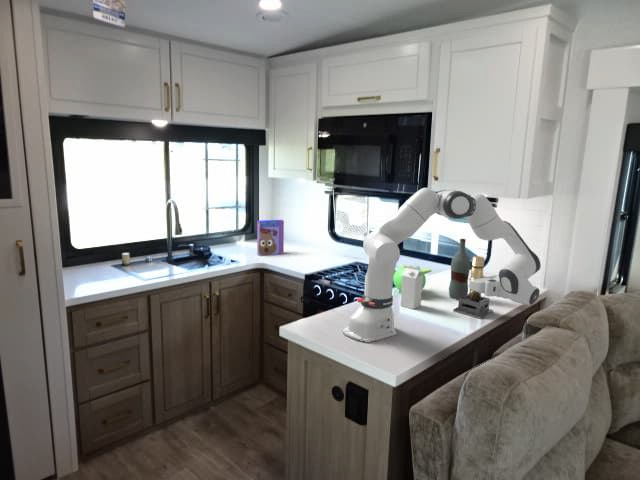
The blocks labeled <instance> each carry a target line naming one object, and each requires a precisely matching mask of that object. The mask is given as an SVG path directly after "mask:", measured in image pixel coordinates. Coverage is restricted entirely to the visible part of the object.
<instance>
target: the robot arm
mask: <svg viewBox="0 0 640 480" xmlns="http://www.w3.org/2000/svg"><path fill="white" fill-rule="evenodd" d="M434 214H437V215H439V216H442V217H444V218H448V219H454V220H460V219H463V218H465V219H466V220H467V222H468V224H469V226H470V228H471V230H472V231H473V234H475V236H476V237H477V238H479V239H481V240H483V241H494V240H498V239H503V240H504V241H505V242H506V243H507V244H508V246H509V247H510V248H511V250H512V252H513V253H514V257H513V259H511V260H510V261H509V262H508V263H507V264H506V265H504V266H503V267H502V268H501V269H500V270H499V272H498V274H495V275H491V276H490V275H489V276H486V275H485V276H484V275H483V278H479V279H475V278H471V277H468V289H469V290H470V289H472V290H474V291H476V292H479V293H481V294H484V297H496V298H502V299H506V300H507V299H508V300H510V301H512V302H514V303H516V304H521V305H524V306H525V305H526V306H529V305H530V306H532V305H533V304H534V303H536V301H537V300H538V298H539V296H540V291H541V290H540V289H539V288H538V287H536V286H535V285H533V284H532V283H531V282H530V281H529V279H530V278H531V277H532V276H534V274H536V273H538V272H539V271H540V270H541V265H542V264H541V261H540V260H541V259H540V258H539V257H538V255H537V254H536V253H535V252H533V250H531V248H530V247H529V246H528V244H527V242H525V240H524V239H523V238H522V236H521V235H520V234H519V232H518V230H516V229H515V227H514V226H513V225H512V224H511V223H510V222H508V221H506V220H503V219H502V218H501V217H500V216H499V214H498V213H497V211H496V209H495V208H494V206H493V204H492V203H491V201H489V199H488V198H487V197H486V196H485V195H484V194H482V193H474V194H473V193H472V194H471V195H469V194H467V193H466V192H463V191H460V190H456V189H443V190H440V191H435V190H433V189H432V188H429V187H423V188H420V189H419V190H418V191H416V192H414V193H413V195H411V196H410V197H409V198H408V199H407V200H406V201H405V202H404V203H403V204H402V205H401V206H400V207H399V208H398V209H397V210H396V211H395V212H394V213H393V214H392V215H391V217H389V218H388V219H386V221H384V222H383V223H382V224H380V225H379V226H378V227H376V228H375V229H373V230H372V231H371V232H370V233H367V234H366V236H365V237H364V239H363V243H362V244H363V245H362V246H363V251H364V253H365V254H366V255H367V256H368V266H367V270H366V271H367V272H366V273H365V276H364V279H365V280H364V293H363V296H362V297H358V298H357V299H356V301H357V303H360V305H359V307H357V309H356V310H355V311H354V312H353V313H352V315H351V316H350V318H349V320H348V325H347V326H346V327H345V328H343V329H342V331H341V332H342V334H343V333H344V334H343V335H345V336H346V335H347V336H346V337H348V336H349V337H348V338H350V337H351V338H350V339H352V338H354V339H353V340H355V339H357V340H356V341H358V340H360V341H359V342H362V341H365V342H364V343H372V342H375V340H376V341H379V340H382V339H385V338H391V337H393V336H396V335H397V331H396V330H395V316H394V315H395V313H394V311H393V305H394V296H393V286H394V285H393V284H394V281H393V276H394V273H395V272H396V267H397V263H398V261H399V259H400V257H401V252H400V248H399V245H400V243H402V242H404V241H405V240H407V239H409V238H411V237H413V236H414V234H416V232H417V231H418V230H419V229H420V228H421V227H422V226H423V225H424V224H425V223H426V221H429V219H430V218H431V217H432V216H434ZM371 341H372V342H371Z"/></svg>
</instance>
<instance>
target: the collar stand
mask: <svg viewBox="0 0 640 480" xmlns="http://www.w3.org/2000/svg"><path fill="white" fill-rule="evenodd" d="M490 300H491V298H489V297H487V296H482V295H481V300H480V301H479V302H477V301H473V300H469V293H468V294H467V295H465V296H462V297H460V298H459V300H458V303H457V305H458V306H457V307H456V308H453V312H455V313H457V314H458V313H459V314H461V315H466V316H468V317H472V318H475V319H479V320H481V319H483V318H485V317H488V316H489V315H491V314H492V313H494V309H492V308H491V309H490V302H491V301H490ZM490 313H491V314H490ZM488 314H489V315H488Z"/></svg>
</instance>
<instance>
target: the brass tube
mask: <svg viewBox="0 0 640 480" xmlns="http://www.w3.org/2000/svg"><path fill="white" fill-rule="evenodd" d="M484 266H485V257H483V256H479V255H478V256H477V255H475V256H472V260H471V268H470V271H471V272H470V278H475V279H479V278H483V276H484ZM468 294H469V300H473V301H477V302H479V301H480V300H481V296H482V293H479V292H476V291H474V290H472V289H470V288H469V291H468Z"/></svg>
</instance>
